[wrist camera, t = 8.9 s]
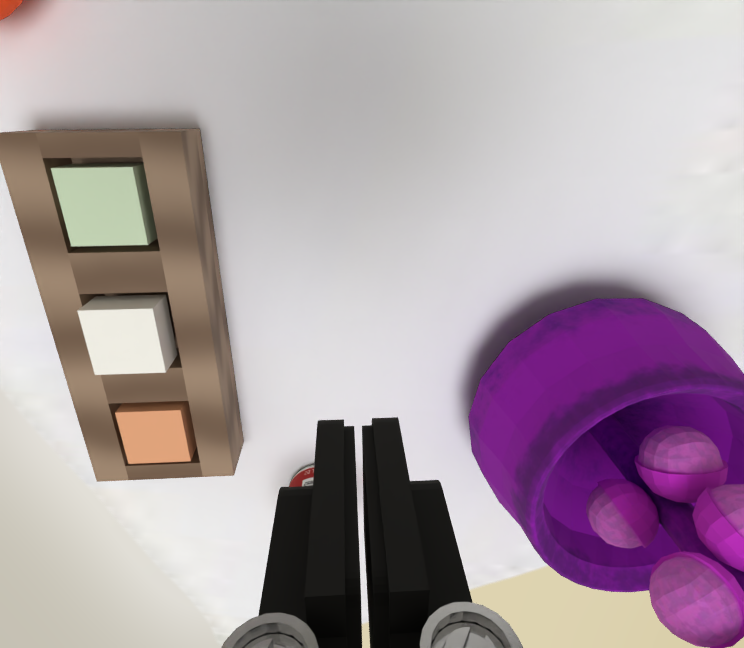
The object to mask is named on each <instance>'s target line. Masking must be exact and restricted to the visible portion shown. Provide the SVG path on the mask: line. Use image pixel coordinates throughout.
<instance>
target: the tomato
mask: <svg viewBox="0 0 744 648" xmlns="http://www.w3.org/2000/svg"><path fill="white" fill-rule="evenodd" d="M22 1H23V0H0V20H2V19H4V18H6V17H8V16H9V15H10V14H11V13H13V11H14V10H15V9H16V8H17V7H18V6H19V5H20V4H21V3H22Z"/></svg>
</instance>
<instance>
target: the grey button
mask: <svg viewBox="0 0 744 648" xmlns="http://www.w3.org/2000/svg"><path fill="white" fill-rule="evenodd" d="M77 312H78V315H79V319H80V323H81V326H82V330H83V333H84V337H85V341H86V344H87V348H88V352H89V355H90V359H91V363H92V366H93V370H94V374H95V375H109V374H139V373H166V372H167V370H168V369H169V367H170V366H171V364H172V363H173V361H174V359H175V358H176V356H177V350H176V345H175V340H174V335H173V329H172V324H171V319H170V314H169V308H168V303H167V298H166V295H130V296H96V297H94V298H93V299H92V300H90V301H89V302H88V303H87V304H85V305H84V306H83V307H81V308H80V309H79V310H77Z"/></svg>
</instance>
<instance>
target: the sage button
mask: <svg viewBox="0 0 744 648" xmlns="http://www.w3.org/2000/svg"><path fill="white" fill-rule="evenodd" d="M51 171H52V175H53V179H54V183H55V186H56V190H57V194H58V198H59V202H60V205H61V209H62V213H63V217H64V221H65V224H66V228H67V232H68V236H69V239H70V243H71V246H120V245H149V244H150V243H151V242H153V241H154V240H156V239H157V238H158V237H157V232H156V226H155V221H154V216H153V211H152V205H151V200H150V195H149V189H148V184H147V179H146V173H145V168H144V163H84V164H69V165H64V166H59V167H54V168H51Z"/></svg>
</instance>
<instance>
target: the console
mask: <svg viewBox="0 0 744 648" xmlns="http://www.w3.org/2000/svg"><path fill="white" fill-rule="evenodd" d="M0 163H1V166H2V170H3V173H4V176H5V180H6V183H7V186H8V189H9V193H10V196H11V199H12V203H13V206H14V209H15V213H16V216H17V219H18V222H19V226H20V229H21V232H22V236H23V239H24V242H25V246H26V249H27V252H28V255H29V259H30V262H31V265H32V269H33V272H34V275H35V279H36V282H37V285H38V288H39V292H40V295H41V298H42V302H43V305H44V308H45V312H46V315H47V318H48V321H49V325H50V328H51V331H52V335H53V338H54V341H55V345H56V348H57V351H58V354H59V358H60V361H61V364H62V368H63V371H64V374H65V378H66V381H67V384H68V387H69V391H70V394H71V397H72V401H73V404H74V407H75V411H76V414H77V417H78V420H79V424H80V427H81V430H82V434H83V437H84V440H85V444H86V447H87V450H88V453H89V457H90V460H91V463H92V467H93V470H94V473H95V477H96V480H97V481H119V480H141V479H164V478H186V477H209V476H231V475H234V473H235V470H236V466H237V463H238V460H239V456H240V453H241V449H242V446H243V442H244V441H243V434H242V427H241V419H240V412H239V405H238V398H237V391H236V384H235V377H234V369H233V362H232V355H231V348H230V341H229V334H228V326H227V319H226V312H225V305H224V298H223V291H222V284H221V276H220V269H219V262H218V255H217V248H216V241H215V233H214V226H213V219H212V212H211V205H210V198H209V191H208V183H207V176H206V169H205V162H204V155H203V148H202V140H201V133H200V129H105V130H29V131H16V132H2V133H0ZM84 163H144V168H145V173H146V179H147V184H148V189H149V195H150V200H151V205H152V211H153V216H154V221H155V226H156V232H157V237H158V238H157V239H156V240H154V241H153V242H151V243H150V244H149V245H120V246H71V243H70V239H69V236H68V232H67V228H66V224H65V221H64V217H63V213H62V209H61V205H60V202H59V198H58V194H57V190H56V186H55V183H54V179H53V175H52V171H51V168H54V167H59V166H64V165H69V164H84ZM130 295H166V298H167V303H168V308H169V314H170V319H171V324H172V329H173V335H174V340H175V345H176V350H177V356H176V358H175V359H174V361H173V363H172V364H171V366H170V367H169V369H168V370H167V372H166V373H139V374H109V375H95V374H94V370H93V366H92V363H91V359H90V355H89V352H88V348H87V344H86V341H85V337H84V333H83V330H82V326H81V323H80V319H79V315H78V312H77V310H79V309H80V308H81V307H83V306H84V305H85V304H87V303H88V302H89V301H90V300H92V299H93V298H94V297H96V296H130ZM166 401H189V407H190V412H191V417H192V423H193V428H194V433H195V439H196V444H197V448H196V450H195V452H194V455H193V457H192V459H191V461H184V462H161V463H138V464H128V460H127V456H126V452H125V449H124V445H123V441H122V437H121V433H120V430H119V426H118V422H117V418H116V415H115V412H116V411H117V409H118V408H119V407H120V405H121V404H122V403H139V402H166Z"/></svg>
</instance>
